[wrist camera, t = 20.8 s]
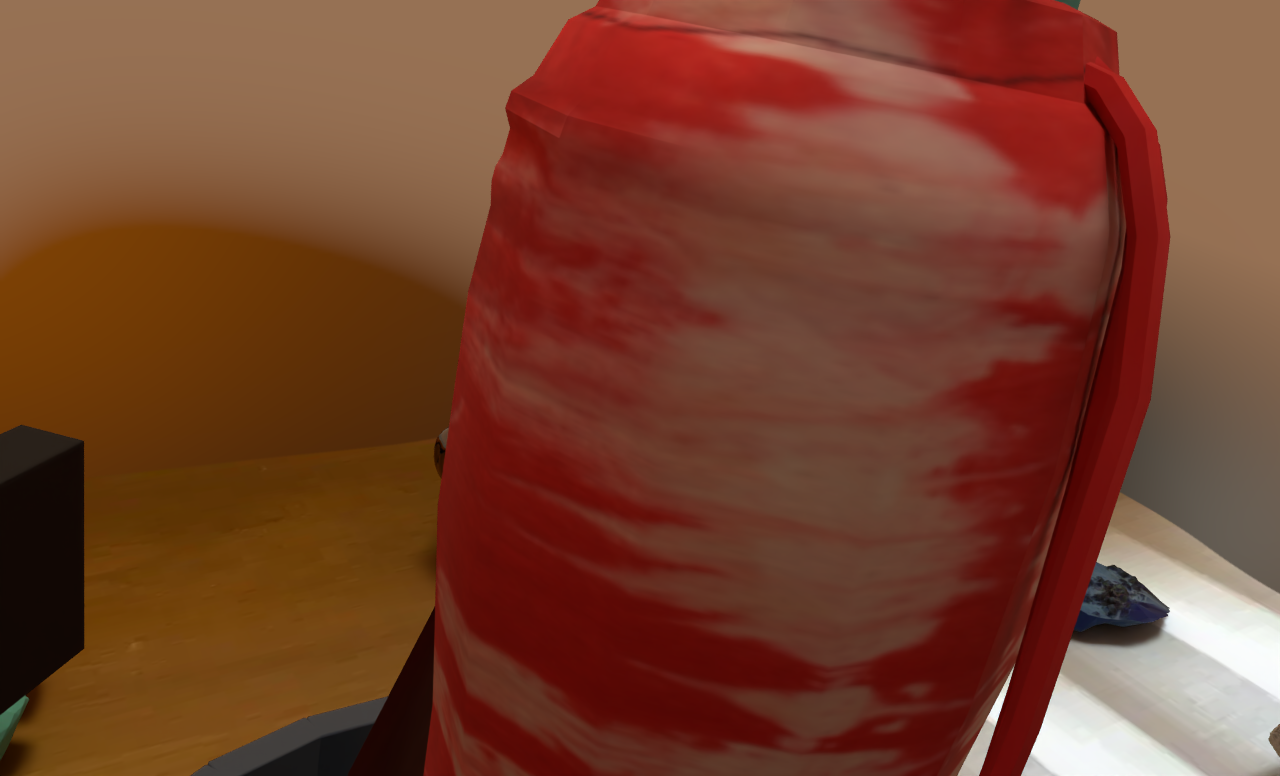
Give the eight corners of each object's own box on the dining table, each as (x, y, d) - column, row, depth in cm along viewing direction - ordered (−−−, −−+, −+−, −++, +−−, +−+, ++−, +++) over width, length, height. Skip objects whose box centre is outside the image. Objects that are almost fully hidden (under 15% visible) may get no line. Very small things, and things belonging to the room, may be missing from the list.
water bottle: (200, 1033, 21) (273, -341, 13) (521, 890, 26) (729, -167, 18) (463, 1833, 13) (1227, -747, 4) (869, 1395, 18) (1591, -189, 9)
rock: (939, 466, 62) (948, 438, 61) (1200, 623, 49) (1215, 590, 49) (761, 495, 54) (769, 463, 53) (1019, 691, 41) (1035, 652, 40)
